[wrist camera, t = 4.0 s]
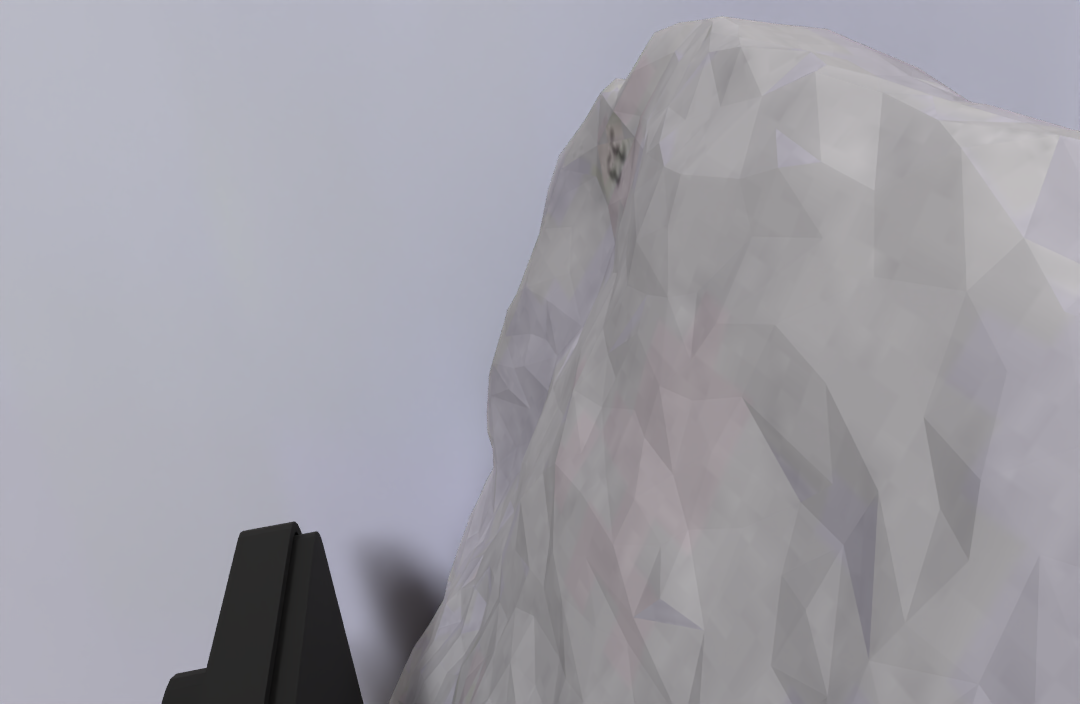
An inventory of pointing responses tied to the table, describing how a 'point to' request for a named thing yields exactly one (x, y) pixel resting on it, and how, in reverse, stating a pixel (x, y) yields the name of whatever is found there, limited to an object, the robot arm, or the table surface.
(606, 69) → the table surface
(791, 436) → the stone block
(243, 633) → the robot arm
